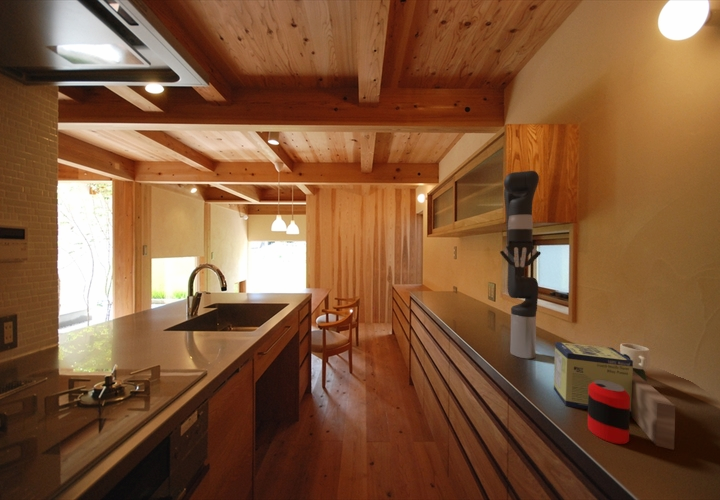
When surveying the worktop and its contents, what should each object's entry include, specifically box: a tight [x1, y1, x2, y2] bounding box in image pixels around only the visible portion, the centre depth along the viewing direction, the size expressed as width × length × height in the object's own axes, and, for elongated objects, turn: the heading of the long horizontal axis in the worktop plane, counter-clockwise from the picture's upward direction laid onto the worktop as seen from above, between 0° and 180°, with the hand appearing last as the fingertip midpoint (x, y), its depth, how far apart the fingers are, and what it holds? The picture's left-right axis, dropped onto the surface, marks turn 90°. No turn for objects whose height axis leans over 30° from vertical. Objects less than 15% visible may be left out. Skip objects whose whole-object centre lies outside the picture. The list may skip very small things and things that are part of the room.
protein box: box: [553, 341, 633, 418], centre depth 83 cm, size 10×16×16 cm
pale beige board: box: [630, 371, 676, 450], centre depth 76 cm, size 26×3×10 cm, turn 155°
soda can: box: [587, 380, 631, 445], centre depth 68 cm, size 8×8×12 cm
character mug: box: [619, 342, 651, 383], centre depth 93 cm, size 11×7×13 cm, turn 159°
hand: (519, 277), depth 99 cm, fingers closed
